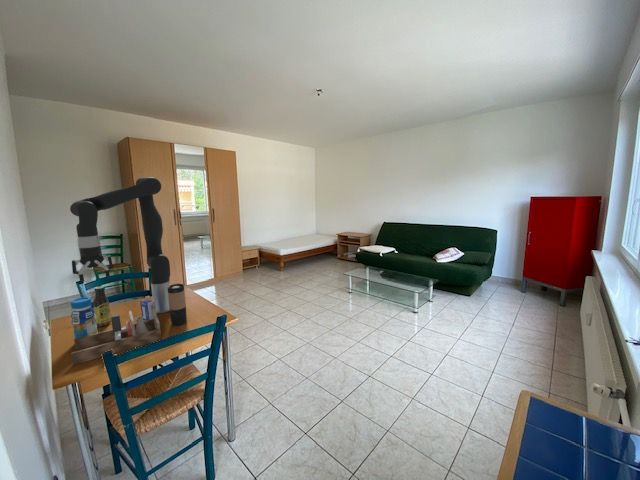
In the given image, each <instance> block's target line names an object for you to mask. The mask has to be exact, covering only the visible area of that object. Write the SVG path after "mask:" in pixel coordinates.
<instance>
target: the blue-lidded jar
mask: <svg viewBox="0 0 640 480" xmlns="http://www.w3.org/2000/svg"><path fill="white" fill-rule="evenodd" d="M70 307H71V309H72V312H71V314H70V318H71V320H70V322H71V325H72V328H73V329H72V330H73V334H74V339H75V338H79V337H83V336H87V335H91V334H95V333H99V331H98V326H97V325H96V315H95V314H94V313H95V311H94V307H92V299H91V297H89V296H88V297H87V296H86V297H84V296H83V297H78V298H75V299H72V301H71V300H70Z"/></svg>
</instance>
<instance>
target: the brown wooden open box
mask: <svg viewBox="0 0 640 480" xmlns="http://www.w3.org/2000/svg"><path fill="white" fill-rule="evenodd" d="M128 314H129V321H131V327H132V334H133V336H131V337H128V333H127V331H125V332H121V339H120V340H116V341H115V332H113V328H111V329H108V330H104V331H98V333H95V334H91V335H87V336H83V337H79V338H75V337H74V338H73V340H74V346H75V351H73V352H71V354H70V355H71V361H72V366H76V365H79V364H82V363H85V362H89V361H93V360H96V359H99V358H103V357H102V356H101V354H102V353H103V352H105V351H108V350H111V349H113V350H114V353H113V354H115V353H116V354H117V353H119V352H122V351H127V350H130V349H133V348H137V347H141V346H143V345H147V344H151V343H154V342H158V341H160V340H162V339H163V337H162V332H161V324H160V321H159V318H158V316H157V315H158V314H157V313H155V314H153V316H154V319H151V320H147V321H143V322H144V324H145V326H146V328H147V329H148V331H149V332H146V333H142V334H138V335H135V329H136V325H137V322H135V321H134V317H133V311H132V310H129V311H128ZM156 314H157V315H156ZM124 327H127V326H126V325H123V326H121V328H124Z"/></svg>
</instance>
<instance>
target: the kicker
mask: <svg viewBox="0 0 640 480" xmlns="http://www.w3.org/2000/svg"><path fill="white" fill-rule="evenodd" d="M110 315H111V329H113V332H115V340H114V341H116V340H120V339H122V338H121V332H125V331H127V333H128V336H127V337H131V336H133V334H132V327H131V321H130V320H129V321H126V322H125V324H126V325H125V326H127V327H124V328H121V327H122V324H121V317H120V313H113V314H110Z"/></svg>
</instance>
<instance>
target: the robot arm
mask: <svg viewBox="0 0 640 480" xmlns="http://www.w3.org/2000/svg"><path fill="white" fill-rule="evenodd" d="M161 190H162V183H161V181H160V180H159V179H158V178H155V177H152V176H147V177H146V176H144V177H139V178H138V179H136V182H135V184H134V185H131V186H127V187H124V188H119V189H115V190H114V189H113V190H110V191H106V192H104V193H101V194H98V195H95V196H92V197H88V198H84V199H80V200H78V201H77V200H76V201H75V202H73V203H72V204H71V205H70V207H69V211H70V212H71V214H72V215H74V216H76V217H78V223H77V224H76V227H75V228H76V235H77V245H78V249H79V250H78V251H79V256H80V259H77V260H76V259H72V260H71V269H72V270H71V272H72V274H73V275H78V278H79V281H80V282H82V283H85V277H84V271H85V270H86V269H92V268H98V267H100V268H102V269H104V271H105V272H104V273H105V278H106V279H108V278H109V277H110V276H111V275H110V270H111V269H113V268H114V264H113V260H112V256H111V255H107V256H104V255H103V253H102V246H101V245H102V244H101V239H100V237H99V232H98V231H99V230H98V226H97V224H98V217H99V211H105V210H109V209H112V208H114V207H117V206H120V205H123V204H125V203H128V202H130V201H133V200H135V199H138V201H139V208H140V216H141V222H142V223H141V224H142V229H143V230H142V231H143V236H144V241H145V246H146V264H147V266H148V267H149V268H150V269H151V277H150V287H151V295H152V296H151V297H152V301H155V307H156V314H164V313H168V312H170V309H169V299H168V288H167V287H170V285H171V281H170V277H171V265H170V260H169V258H168V257H167V256H166V255H164V253H163V250H162V239H163V235H164V234H163V233H164V227H163V220H162V217H161V214H160V212H159V210H158V209H157V207H156V206H155V201H154V195H156V194H158V193H160V192H161ZM104 260H105V261H107V262H108V266H107V265H106V264H105V263H103V261H104ZM79 264H82V266H81V268H80V269H79V270H78V269H77V266H78V265H79Z"/></svg>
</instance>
